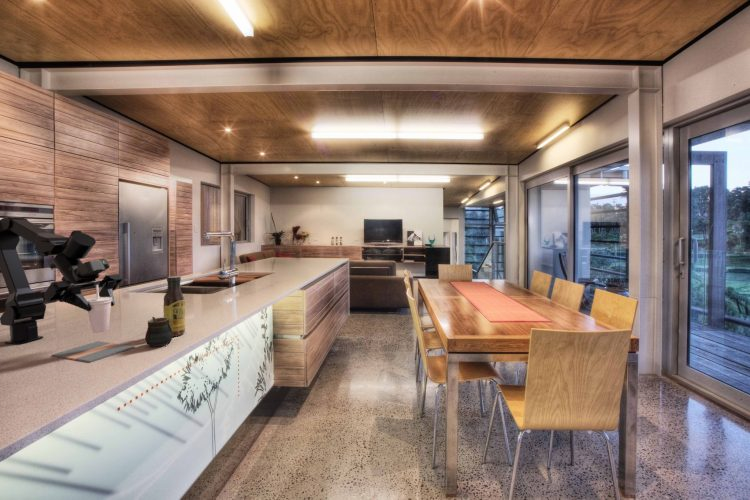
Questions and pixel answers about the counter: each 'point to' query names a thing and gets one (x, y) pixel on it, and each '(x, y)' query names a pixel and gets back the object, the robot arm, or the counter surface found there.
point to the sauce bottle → (175, 306)
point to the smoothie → (99, 312)
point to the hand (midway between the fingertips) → (102, 307)
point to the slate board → (93, 351)
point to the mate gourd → (158, 332)
